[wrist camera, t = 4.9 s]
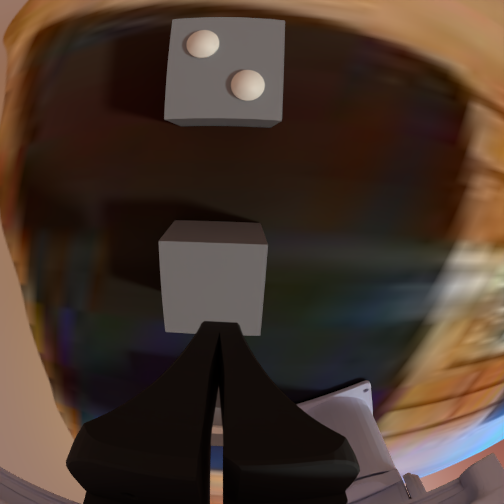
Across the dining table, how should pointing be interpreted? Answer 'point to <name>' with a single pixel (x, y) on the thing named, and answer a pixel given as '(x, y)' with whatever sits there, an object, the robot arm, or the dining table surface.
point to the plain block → (213, 274)
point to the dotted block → (225, 72)
